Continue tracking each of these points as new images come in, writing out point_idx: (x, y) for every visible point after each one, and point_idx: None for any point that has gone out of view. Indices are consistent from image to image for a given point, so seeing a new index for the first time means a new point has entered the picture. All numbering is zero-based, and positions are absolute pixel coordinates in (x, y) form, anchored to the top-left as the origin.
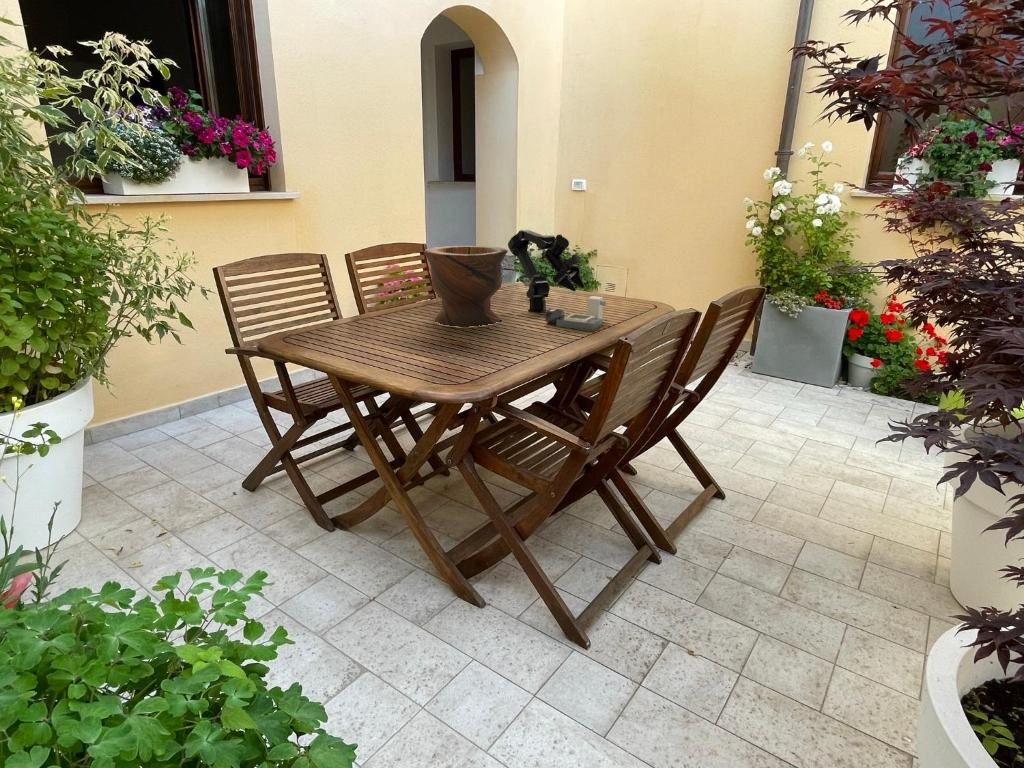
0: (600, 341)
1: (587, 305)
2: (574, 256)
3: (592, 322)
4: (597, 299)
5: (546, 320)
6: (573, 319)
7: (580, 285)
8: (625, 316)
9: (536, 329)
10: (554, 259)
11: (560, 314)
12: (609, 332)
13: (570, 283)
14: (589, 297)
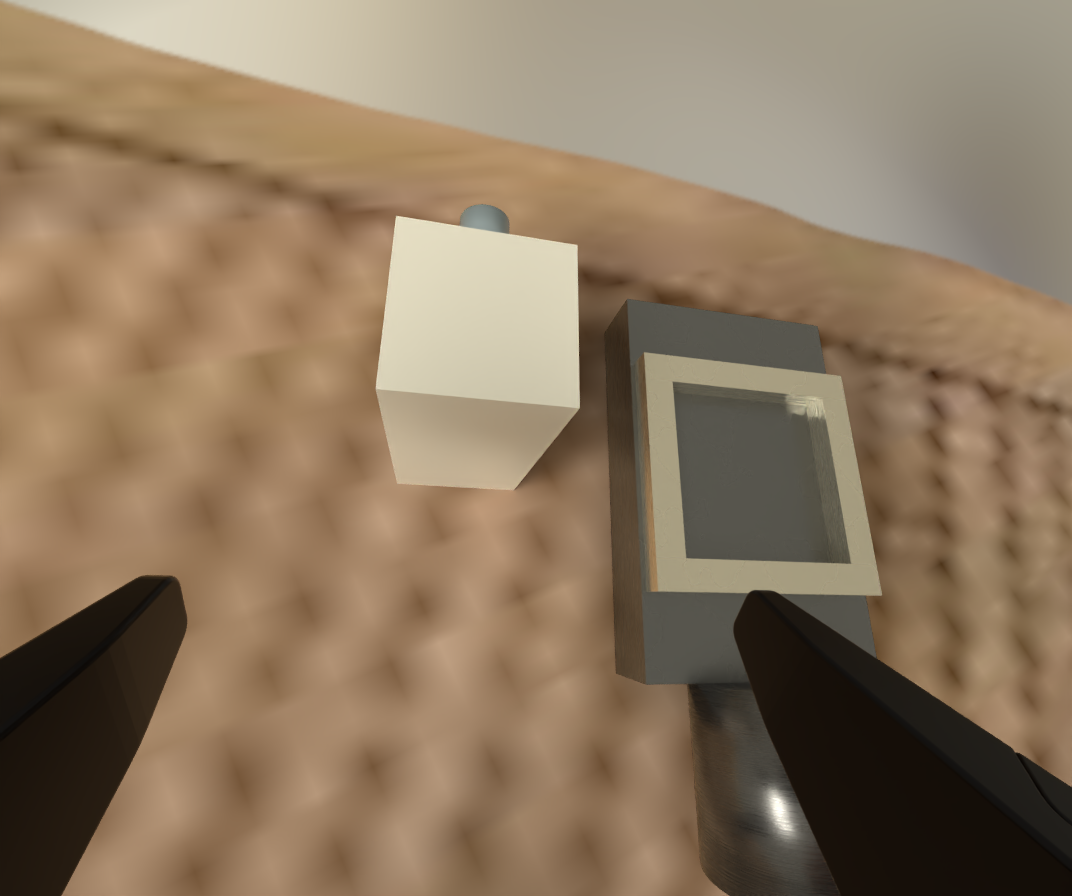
0: (934, 267)
1: (552, 441)
2: None
3: (781, 343)
4: (577, 266)
5: None
6: (858, 494)
7: (127, 722)
8: (142, 216)
9: None
10: None
11: None
12: (738, 254)
13: (1027, 778)
14: (509, 397)
